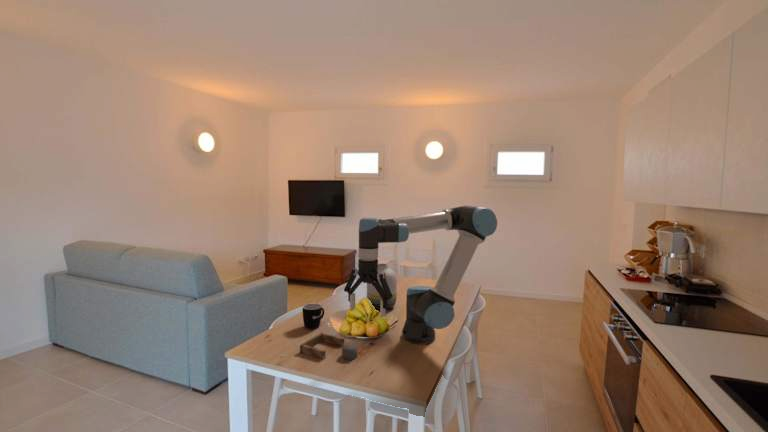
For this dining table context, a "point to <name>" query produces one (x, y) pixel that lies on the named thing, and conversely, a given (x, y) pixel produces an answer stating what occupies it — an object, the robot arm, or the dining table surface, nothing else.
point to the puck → (349, 352)
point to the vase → (392, 284)
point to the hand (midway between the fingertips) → (367, 313)
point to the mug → (312, 315)
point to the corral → (308, 345)
